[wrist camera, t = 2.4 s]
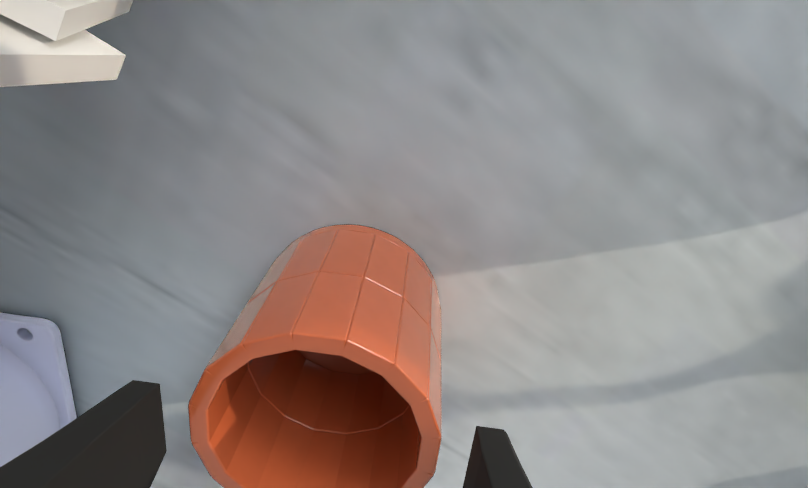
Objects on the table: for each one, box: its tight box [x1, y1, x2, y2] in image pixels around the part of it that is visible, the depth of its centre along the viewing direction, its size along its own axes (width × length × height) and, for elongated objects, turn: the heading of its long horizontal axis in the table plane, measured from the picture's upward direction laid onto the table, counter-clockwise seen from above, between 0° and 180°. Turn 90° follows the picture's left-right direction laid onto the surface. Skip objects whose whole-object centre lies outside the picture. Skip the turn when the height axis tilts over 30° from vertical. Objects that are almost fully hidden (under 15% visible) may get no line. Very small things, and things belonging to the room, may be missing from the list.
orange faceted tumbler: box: [188, 224, 442, 488], centre depth 15 cm, size 6×6×6 cm
